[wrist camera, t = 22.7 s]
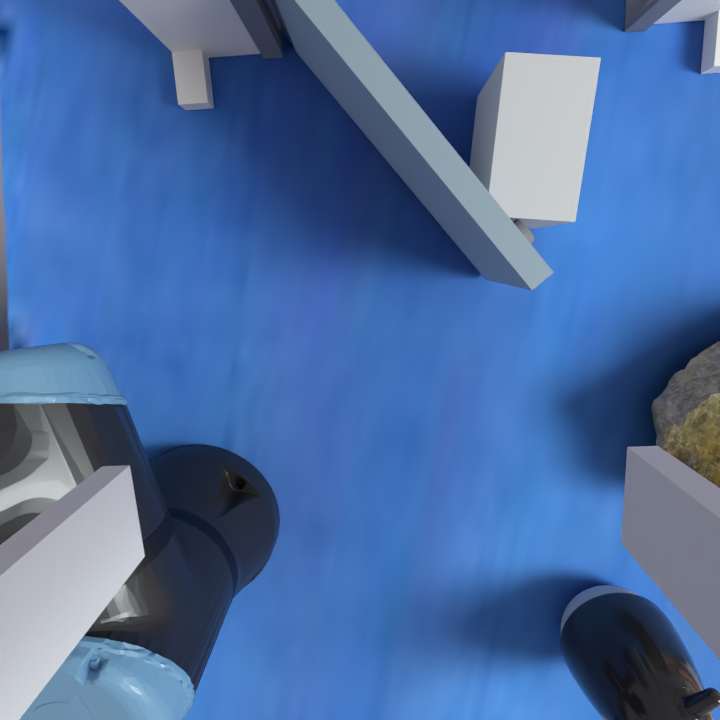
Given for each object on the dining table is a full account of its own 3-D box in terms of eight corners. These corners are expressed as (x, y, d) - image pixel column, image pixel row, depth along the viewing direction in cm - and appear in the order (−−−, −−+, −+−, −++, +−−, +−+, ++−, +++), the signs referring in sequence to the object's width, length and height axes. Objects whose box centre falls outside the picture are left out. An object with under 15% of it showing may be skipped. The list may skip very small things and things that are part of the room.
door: (280, 33, 39) (228, -86, 25) (309, 3, 38) (272, -136, 25) (484, 279, 42) (535, 291, 29) (514, 254, 42) (580, 254, 28)
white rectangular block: (463, 224, 42) (486, 216, 33) (477, 96, 40) (505, 52, 31) (533, 228, 42) (575, 221, 33) (551, 101, 40) (600, 57, 31)
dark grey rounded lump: (668, 584, 48) (797, 731, 34) (622, 667, 51) (724, 838, 36) (573, 552, 48) (661, 686, 33) (530, 637, 50) (595, 798, 35)
